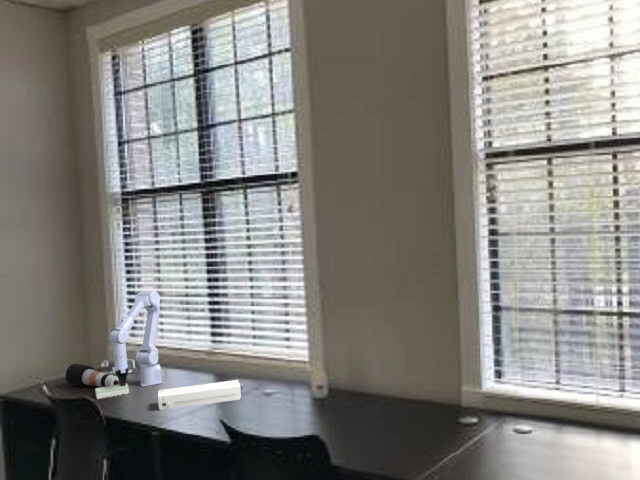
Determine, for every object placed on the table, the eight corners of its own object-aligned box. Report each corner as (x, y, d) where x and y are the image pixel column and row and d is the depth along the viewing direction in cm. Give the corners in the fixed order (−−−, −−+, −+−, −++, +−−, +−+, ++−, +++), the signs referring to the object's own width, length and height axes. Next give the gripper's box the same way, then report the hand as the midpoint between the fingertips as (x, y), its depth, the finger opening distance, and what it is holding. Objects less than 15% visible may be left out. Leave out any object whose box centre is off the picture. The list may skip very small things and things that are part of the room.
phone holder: (106, 361, 349) (93, 360, 357) (108, 381, 350) (95, 379, 357) (136, 354, 363) (123, 352, 371) (138, 372, 364) (124, 371, 371)
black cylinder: (119, 399, 327) (112, 383, 322) (70, 388, 344) (62, 372, 339) (133, 385, 334) (126, 369, 330) (84, 374, 351) (76, 359, 346)
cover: (126, 384, 324) (126, 382, 324) (128, 388, 317) (128, 386, 317) (95, 390, 319) (94, 388, 319) (96, 393, 312) (96, 391, 312)
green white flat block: (127, 390, 324) (126, 385, 324) (129, 393, 317) (128, 388, 317) (95, 396, 319) (95, 390, 319) (97, 399, 312) (96, 393, 312)
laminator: (239, 393, 302) (238, 379, 302) (242, 400, 290) (241, 385, 290) (159, 404, 295) (158, 390, 295) (158, 412, 283) (157, 397, 283)
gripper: (109, 355, 325) (112, 384, 325) (112, 360, 311) (115, 390, 312) (125, 353, 327) (127, 381, 328) (129, 358, 314) (131, 388, 314)
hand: (123, 386), depth 320 cm, fingers closed, pressing on cover
